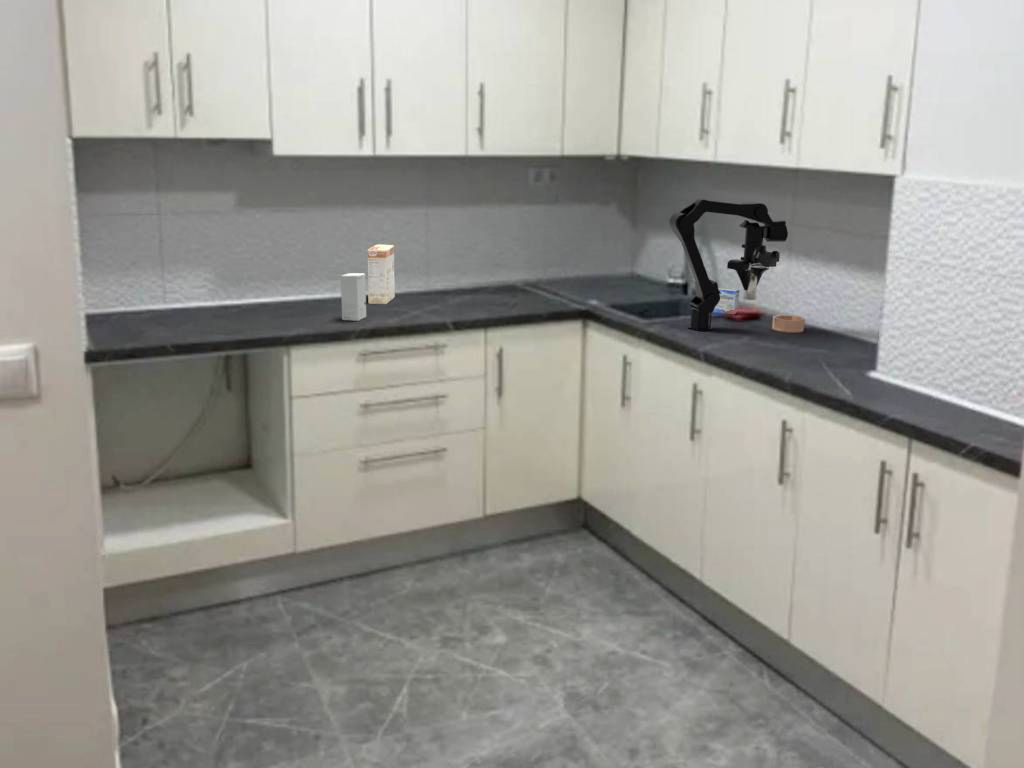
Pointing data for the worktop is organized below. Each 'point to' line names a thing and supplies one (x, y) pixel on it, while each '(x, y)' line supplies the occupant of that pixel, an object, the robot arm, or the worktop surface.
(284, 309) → the worktop surface
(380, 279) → the coffeecake box
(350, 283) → the skincare box
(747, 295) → the battery cell
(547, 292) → the worktop surface
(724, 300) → the medicine box
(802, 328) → the cup
